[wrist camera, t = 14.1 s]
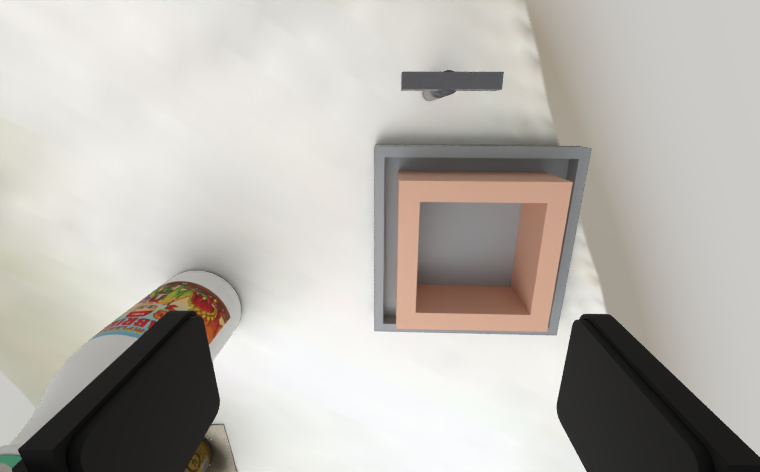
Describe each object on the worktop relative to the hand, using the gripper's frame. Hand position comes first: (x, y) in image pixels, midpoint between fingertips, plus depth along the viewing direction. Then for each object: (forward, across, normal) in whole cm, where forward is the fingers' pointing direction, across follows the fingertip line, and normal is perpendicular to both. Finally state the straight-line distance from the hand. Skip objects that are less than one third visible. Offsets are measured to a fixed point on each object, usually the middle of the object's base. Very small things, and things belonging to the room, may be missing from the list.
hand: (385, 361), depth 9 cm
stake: (+23, -3, -7) cm, 25 cm away
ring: (+22, -7, +5) cm, 24 cm away
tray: (+23, -7, +5) cm, 25 cm away
